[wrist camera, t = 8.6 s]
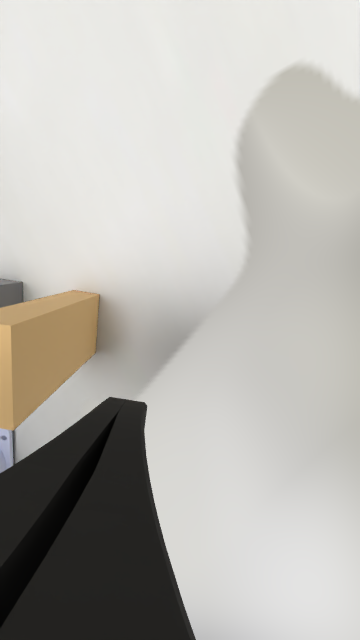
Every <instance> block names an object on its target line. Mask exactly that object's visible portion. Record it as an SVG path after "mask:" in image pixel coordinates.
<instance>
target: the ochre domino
mask: <svg viewBox="0 0 360 640" xmlns="http://www.w3.org/2000/svg"><path fill="white" fill-rule="evenodd" d="M98 309H99V294H94V293H88V292H82V291H76V290H72V291H68V292H64V293H60V294H56V295H52V296H47V297H43V298H39V299H35V300H31V301H27V302H22V303H18V304H14V305H10V306H6V307H2V308H0V428H1V429H7V430H13V431H14V430H15V429H16V428H17V427H18V426H19V425H20V424H21V423H22V422H23V421H24V420H25V419H26V418H27V417H28V416H29V415H30V414H31V413H33V412H34V411H35V410H36V409H37V408H38V407H39V406H40V405H41V404H42V403H43V402H44V401H45V400H46V399H47V398H48V397H49V396H50V395H52V394H53V393H54V392H55V391H56V390H57V389H58V388H59V387H60V386H61V385H62V384H63V383H64V382H65V381H66V380H67V379H68V378H69V377H71V376H72V375H73V374H74V373H75V372H76V371H77V370H78V369H79V368H80V367H81V366H82V365H83V364H84V363H85V362H86V361H87V360H88V359H90V358H91V357H92V356H93V355H94V354H95V352H96V338H97V323H98Z"/></svg>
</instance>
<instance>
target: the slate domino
mask: <svg viewBox="0 0 360 640" xmlns="http://www.w3.org/2000/svg"><path fill="white" fill-rule="evenodd" d="M22 302H23V282H18V281H12V280H5V279H0V308H2V307H6V306H10V305H14V304H18V303H22Z"/></svg>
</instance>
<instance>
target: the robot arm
mask: <svg viewBox="0 0 360 640" xmlns="http://www.w3.org/2000/svg"><path fill="white" fill-rule="evenodd" d="M146 411H147V405H146V404H145V403H144V402H138V401H132V400H126V399H120V398H113V397H109V398H108V399H106V400H105V401H103V402H102V403H101V404H100V405H98V406H97V407H96V408H95V409H93V410H92V411H91V412H90V413H88V414H87V415H85V416H84V417H83V418H82V419H80V420H79V421H78V422H76V423H75V424H74V425H72V426H71V427H69V428H68V429H67V430H65V431H64V432H63V433H61V434H60V435H58V436H57V437H56V438H54V439H53V440H51V441H50V442H48V443H47V444H45V445H44V446H42V447H41V448H39V449H38V450H36V451H35V452H33V453H32V454H30V455H29V456H27V457H26V458H24V459H23V460H21V461H19V462H18V463H16V464H15V465H13V440H12V430H7V429H1V428H0V640H196V639H195V636H194V634H193V630H192V628H191V625H190V622H189V619H188V616H187V613H186V610H185V607H184V604H183V601H182V598H181V595H180V592H179V588H178V585H177V582H176V578H175V575H174V572H173V569H172V566H171V562H170V559H169V556H168V553H167V550H166V546H165V543H164V539H163V535H162V531H161V527H160V523H159V520H158V516H157V511H156V507H155V503H154V498H153V493H152V488H151V483H150V478H149V472H148V465H147V458H146V449H145V436H144V427H145V419H146Z"/></svg>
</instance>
